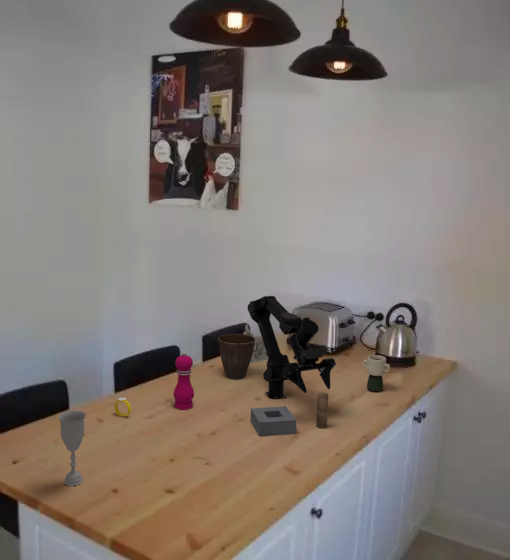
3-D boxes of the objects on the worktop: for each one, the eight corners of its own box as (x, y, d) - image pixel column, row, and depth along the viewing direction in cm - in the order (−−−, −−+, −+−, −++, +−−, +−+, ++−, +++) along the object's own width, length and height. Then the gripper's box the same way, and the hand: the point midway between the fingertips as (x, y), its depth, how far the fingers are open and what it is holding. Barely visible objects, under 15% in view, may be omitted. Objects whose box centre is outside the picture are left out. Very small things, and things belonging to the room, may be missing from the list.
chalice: (63, 475, 162) (61, 410, 159) (89, 474, 163) (88, 410, 160) (56, 488, 155) (55, 421, 152) (84, 488, 155) (83, 421, 152)
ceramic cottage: (234, 361, 267) (237, 328, 265) (241, 352, 283) (244, 321, 281) (269, 366, 265) (272, 333, 263) (274, 357, 281) (277, 325, 279)
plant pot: (261, 375, 249) (262, 337, 247) (240, 385, 237) (242, 345, 234) (231, 368, 257) (232, 332, 254) (210, 377, 245) (210, 339, 242)
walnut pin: (314, 424, 201) (316, 392, 199) (324, 423, 202) (326, 392, 200) (318, 428, 197) (319, 396, 196) (328, 428, 198) (329, 395, 196)
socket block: (250, 421, 202) (250, 408, 201) (285, 418, 205) (285, 406, 204) (259, 436, 190) (259, 422, 190) (296, 433, 193) (296, 419, 192)
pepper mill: (190, 411, 209) (191, 355, 206) (170, 409, 210) (170, 353, 207) (196, 403, 216) (197, 349, 213) (177, 401, 217) (177, 347, 214)
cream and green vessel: (391, 390, 236) (393, 358, 234) (384, 395, 230) (386, 362, 228) (365, 384, 242) (367, 353, 240) (358, 389, 236) (359, 357, 234)
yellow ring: (132, 416, 203) (132, 399, 202) (127, 419, 201) (127, 401, 200) (118, 412, 206) (118, 395, 205) (113, 415, 203) (112, 398, 202)
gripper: (286, 339, 198) (303, 382, 190) (334, 334, 207) (352, 375, 199) (274, 356, 206) (289, 398, 198) (320, 351, 215) (337, 391, 207)
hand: (317, 390), depth 200 cm, fingers open, 9 cm apart
